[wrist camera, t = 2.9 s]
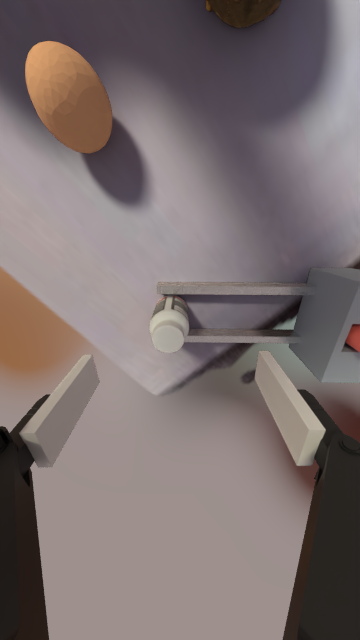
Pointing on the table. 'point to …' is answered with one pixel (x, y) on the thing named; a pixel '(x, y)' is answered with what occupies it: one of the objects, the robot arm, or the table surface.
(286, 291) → the rails
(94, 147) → the egg
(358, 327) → the button
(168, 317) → the pill bottle
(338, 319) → the cabinet
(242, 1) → the shell
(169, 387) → the table surface
